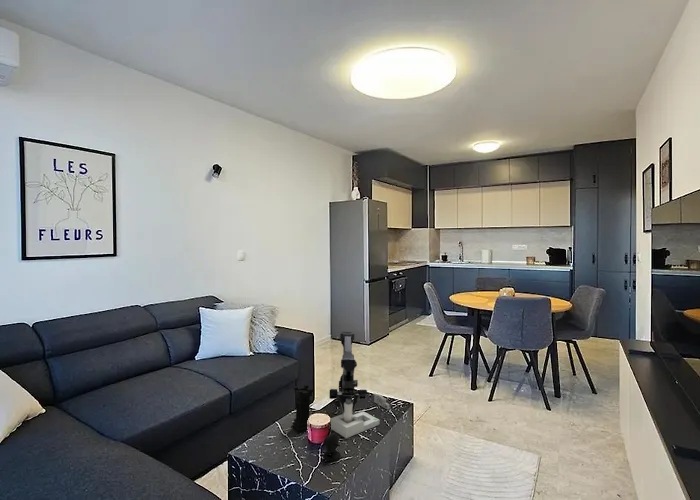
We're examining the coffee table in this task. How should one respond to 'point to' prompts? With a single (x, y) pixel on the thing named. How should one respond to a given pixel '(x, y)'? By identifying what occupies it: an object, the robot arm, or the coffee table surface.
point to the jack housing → (353, 424)
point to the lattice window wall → (383, 401)
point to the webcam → (331, 447)
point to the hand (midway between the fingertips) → (348, 411)
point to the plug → (348, 410)
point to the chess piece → (302, 408)
